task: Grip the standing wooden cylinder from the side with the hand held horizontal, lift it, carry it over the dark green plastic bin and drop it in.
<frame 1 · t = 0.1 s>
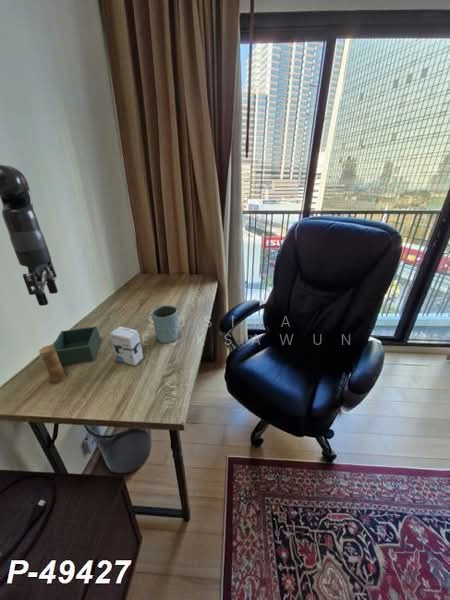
hand: (49, 298, 77), 26 cm above the table, tool pointing down, fingers open, 8 cm apart
blue grey cup: (167, 336, 103), on the table
wooden cylinder: (58, 378, 82), on the table
bin: (79, 352, 95), on the table
ink box: (130, 359, 91), on the table
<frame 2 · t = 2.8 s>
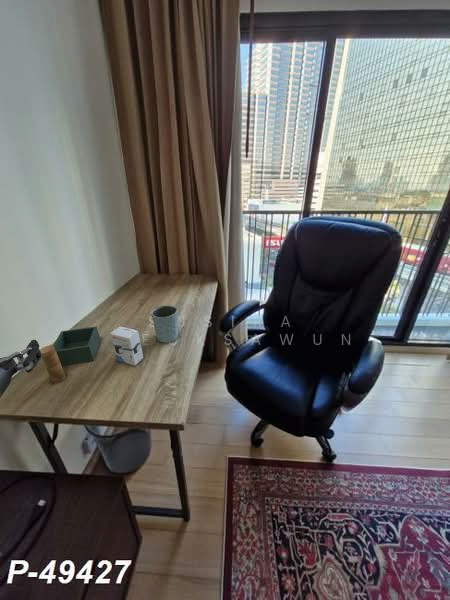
hand: (15, 345, 62), 22 cm above the table, tool horizontal, fingers open, 8 cm apart
nothing on the table moved.
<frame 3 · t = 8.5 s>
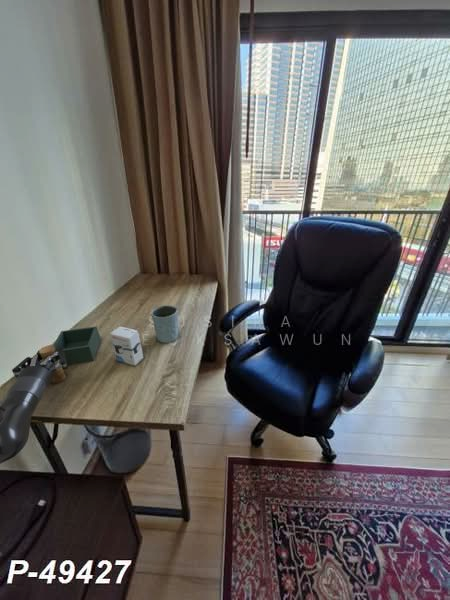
hand: (51, 349, 80), 10 cm above the table, tool horizontal, fingers closed on wooden cylinder, 4 cm apart
wooden cylinder: (58, 378, 82), on the table, touching gripper
everything else where it was.
when the fingers open (14 cm above the table, at t = 16.5 s): wooden cylinder drops 3 cm, resting on bin.
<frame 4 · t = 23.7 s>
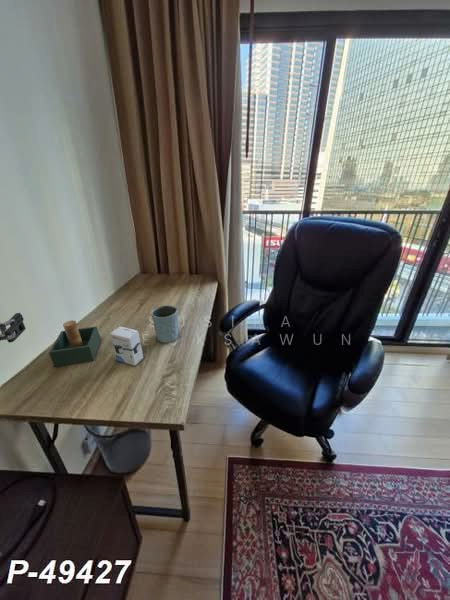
hand: (0, 318, 62), 28 cm above the table, tool horizontal, fingers open, 8 cm apart
wooden cylinder: (78, 350, 94), point 1 cm above the table, touching bin
everything else where it was.
at the end: wooden cylinder inside the target area in the bin (0.1 cm from its centre), point 0.8 cm above the bin's base; the gripper is holding nothing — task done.
